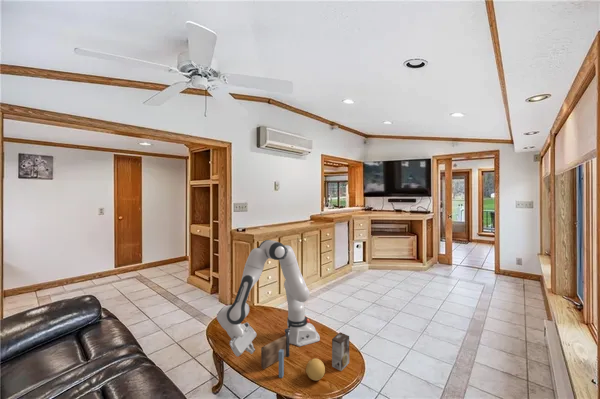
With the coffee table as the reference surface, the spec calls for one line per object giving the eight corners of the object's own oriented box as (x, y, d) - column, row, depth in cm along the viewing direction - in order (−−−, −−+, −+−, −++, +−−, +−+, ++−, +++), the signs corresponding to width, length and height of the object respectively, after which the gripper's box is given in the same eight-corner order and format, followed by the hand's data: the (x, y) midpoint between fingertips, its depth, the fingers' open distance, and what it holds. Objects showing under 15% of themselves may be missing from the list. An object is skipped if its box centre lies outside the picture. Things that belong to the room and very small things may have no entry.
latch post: (280, 374, 147) (280, 349, 146) (283, 375, 146) (283, 349, 146) (278, 377, 144) (278, 351, 144) (282, 378, 144) (282, 352, 143)
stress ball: (326, 382, 142) (326, 361, 149) (322, 377, 135) (322, 355, 143) (308, 383, 144) (308, 361, 151) (303, 377, 138) (304, 355, 145)
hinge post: (285, 353, 165) (285, 328, 164) (290, 354, 164) (290, 328, 163) (284, 356, 162) (283, 330, 161) (289, 357, 161) (289, 331, 160)
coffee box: (339, 358, 160) (340, 331, 159) (349, 363, 156) (349, 335, 155) (331, 366, 153) (331, 338, 152) (341, 371, 149) (341, 342, 148)
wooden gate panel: (284, 354, 162) (284, 335, 162) (286, 356, 161) (286, 337, 160) (261, 367, 151) (261, 347, 150) (263, 369, 149) (263, 349, 149)
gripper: (231, 339, 146) (248, 360, 144) (249, 321, 165) (264, 339, 163) (224, 346, 147) (240, 366, 145) (242, 327, 167) (257, 345, 165)
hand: (253, 352), depth 154 cm, fingers closed
